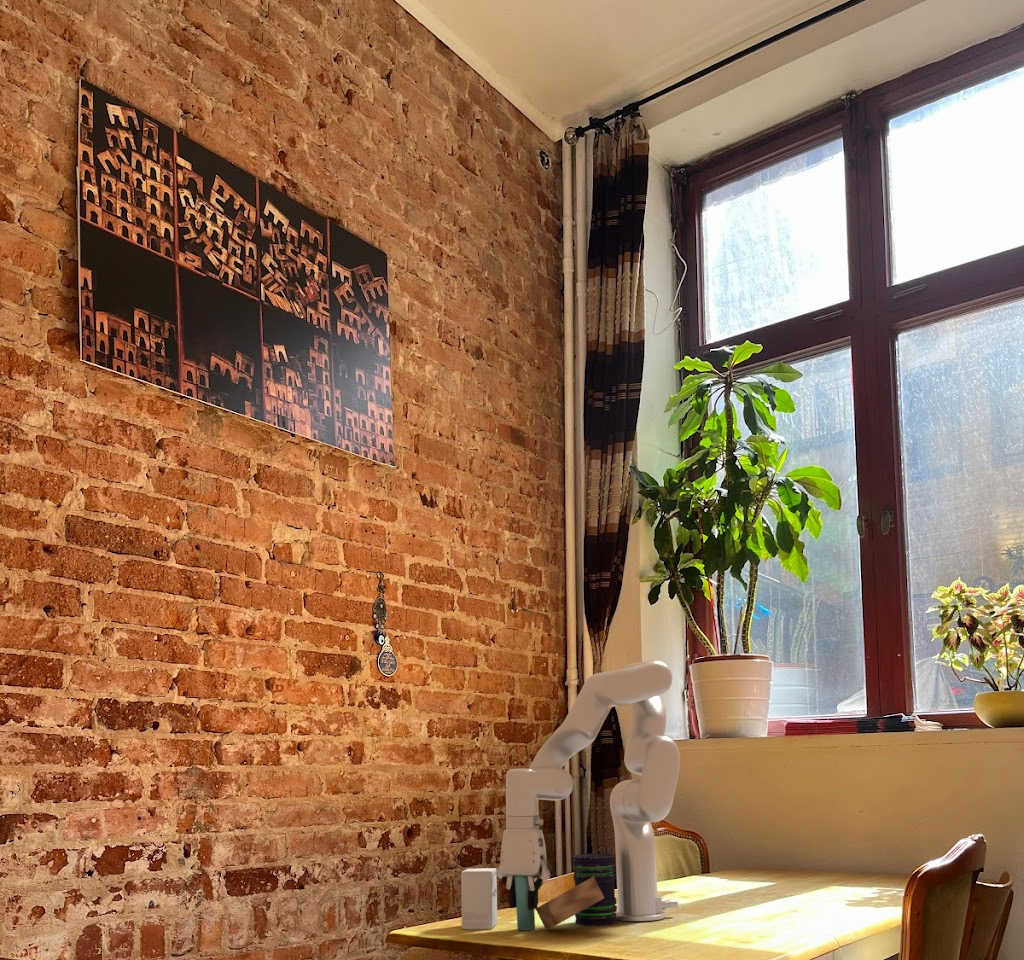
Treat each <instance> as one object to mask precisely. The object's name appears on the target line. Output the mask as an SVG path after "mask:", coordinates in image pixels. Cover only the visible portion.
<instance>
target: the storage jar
mask: <svg viewBox="0 0 1024 960" xmlns="http://www.w3.org/2000/svg"><path fill="white" fill-rule="evenodd" d="M614 860H615V855H614V854H612V853H580V854H575V855H572V861H573V863H572V864H573V865H572V866H573V867H572V873H573V874H572V875H573V877H572V879H573V881H574V887H575V886H577V885H579V884H581V883H583V882H584V881H586V880H588V879H590V878H592V877H594V879H595V880H596V882H597V884H598V886H599V888H600V890H601V892H602V894H603V896H604V899H602V900H600V901H598V902H596V903H595V904H593V905H591V906H589V907H588V908H586V909H584V910H582V911H580V912H579V913H577V914H575V915H574V916H575V921H574V923H575V925H576V926H582V927H607V926H608V927H609V926H613V925H617V924H618V920H616V915H617V914H616V913H614V912H616V911H618V905H617V903H618V900H617V898H616V895H615V894H616V893H615V891H616V890H615V880H616V865H615V861H614Z"/></svg>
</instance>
